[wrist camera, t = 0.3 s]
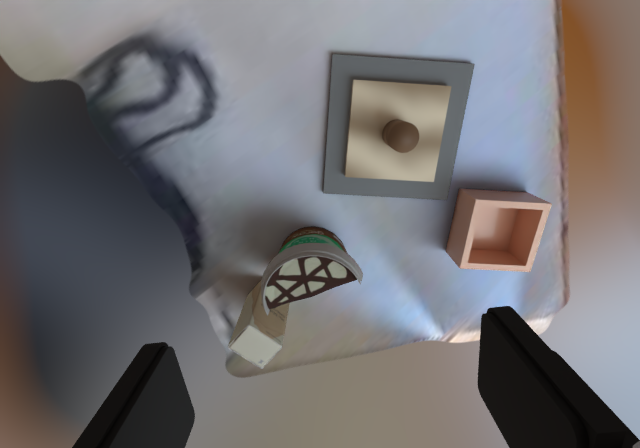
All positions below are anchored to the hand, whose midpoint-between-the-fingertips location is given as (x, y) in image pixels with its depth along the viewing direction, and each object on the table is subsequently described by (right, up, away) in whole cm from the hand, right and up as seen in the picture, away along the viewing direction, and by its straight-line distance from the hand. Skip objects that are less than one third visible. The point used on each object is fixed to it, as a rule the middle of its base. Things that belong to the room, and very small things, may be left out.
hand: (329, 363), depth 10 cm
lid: (+9, +15, +31) cm, 35 cm away
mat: (+9, +15, +31) cm, 36 cm away
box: (-8, -6, +39) cm, 41 cm away
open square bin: (+22, +4, +36) cm, 42 cm away
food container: (-2, +2, +36) cm, 36 cm away
